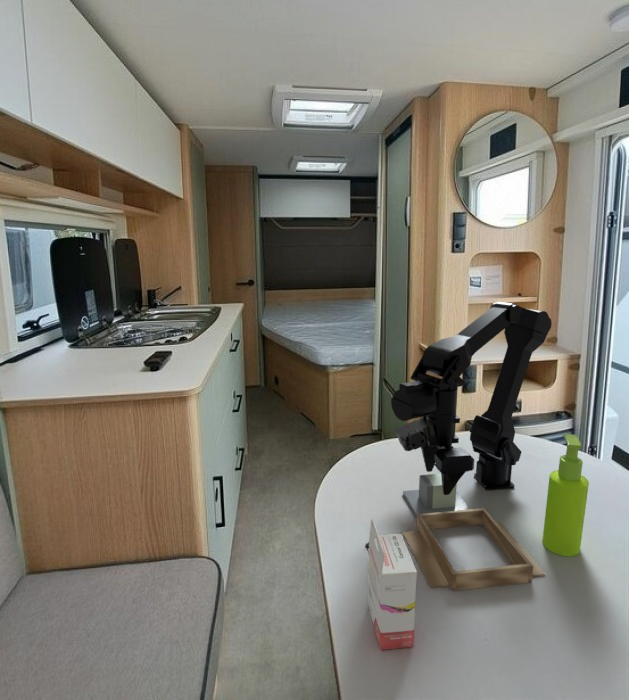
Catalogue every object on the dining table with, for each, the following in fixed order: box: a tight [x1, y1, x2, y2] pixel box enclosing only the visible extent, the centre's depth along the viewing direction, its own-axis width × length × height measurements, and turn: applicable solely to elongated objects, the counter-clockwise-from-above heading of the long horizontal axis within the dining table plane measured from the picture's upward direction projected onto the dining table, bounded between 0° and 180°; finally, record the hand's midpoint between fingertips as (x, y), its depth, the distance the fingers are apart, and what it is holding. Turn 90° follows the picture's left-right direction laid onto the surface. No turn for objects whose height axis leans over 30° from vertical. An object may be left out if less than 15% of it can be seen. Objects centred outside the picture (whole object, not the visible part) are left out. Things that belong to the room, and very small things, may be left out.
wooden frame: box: [402, 507, 546, 592], centre depth 80 cm, size 19×16×3 cm
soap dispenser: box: [542, 433, 590, 557], centre depth 80 cm, size 6×7×20 cm
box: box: [418, 473, 457, 509], centre depth 94 cm, size 6×4×5 cm
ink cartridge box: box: [367, 518, 418, 651], centre depth 64 cm, size 9×5×15 cm, turn 5°
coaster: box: [402, 489, 471, 519], centre depth 95 cm, size 11×10×1 cm
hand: (437, 482), depth 94 cm, fingers open, 9 cm apart
